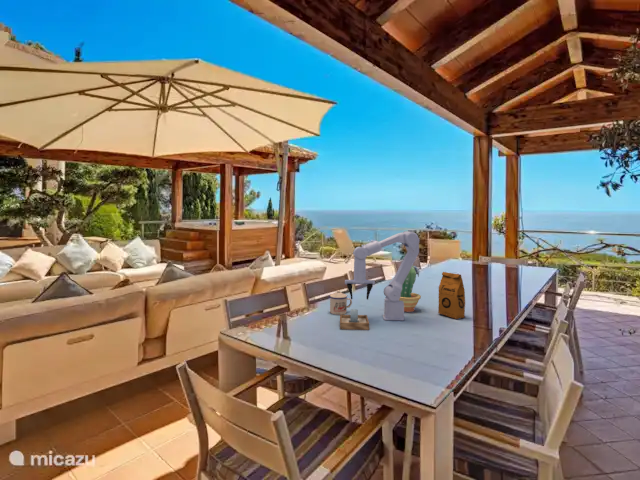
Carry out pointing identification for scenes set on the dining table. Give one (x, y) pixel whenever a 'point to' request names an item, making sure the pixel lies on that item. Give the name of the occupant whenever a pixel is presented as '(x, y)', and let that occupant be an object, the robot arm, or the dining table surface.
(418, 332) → the dining table surface
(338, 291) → the beige mug
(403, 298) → the potted cactus
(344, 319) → the tray box
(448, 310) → the coffee package
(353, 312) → the peg
